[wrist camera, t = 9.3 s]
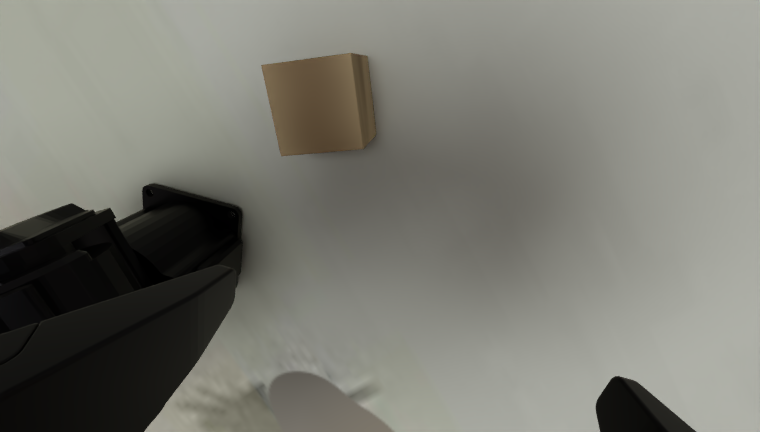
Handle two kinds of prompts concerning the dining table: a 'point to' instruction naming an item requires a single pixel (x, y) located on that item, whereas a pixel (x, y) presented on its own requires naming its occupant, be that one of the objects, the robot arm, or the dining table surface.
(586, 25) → the dining table surface
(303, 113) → the oak block
